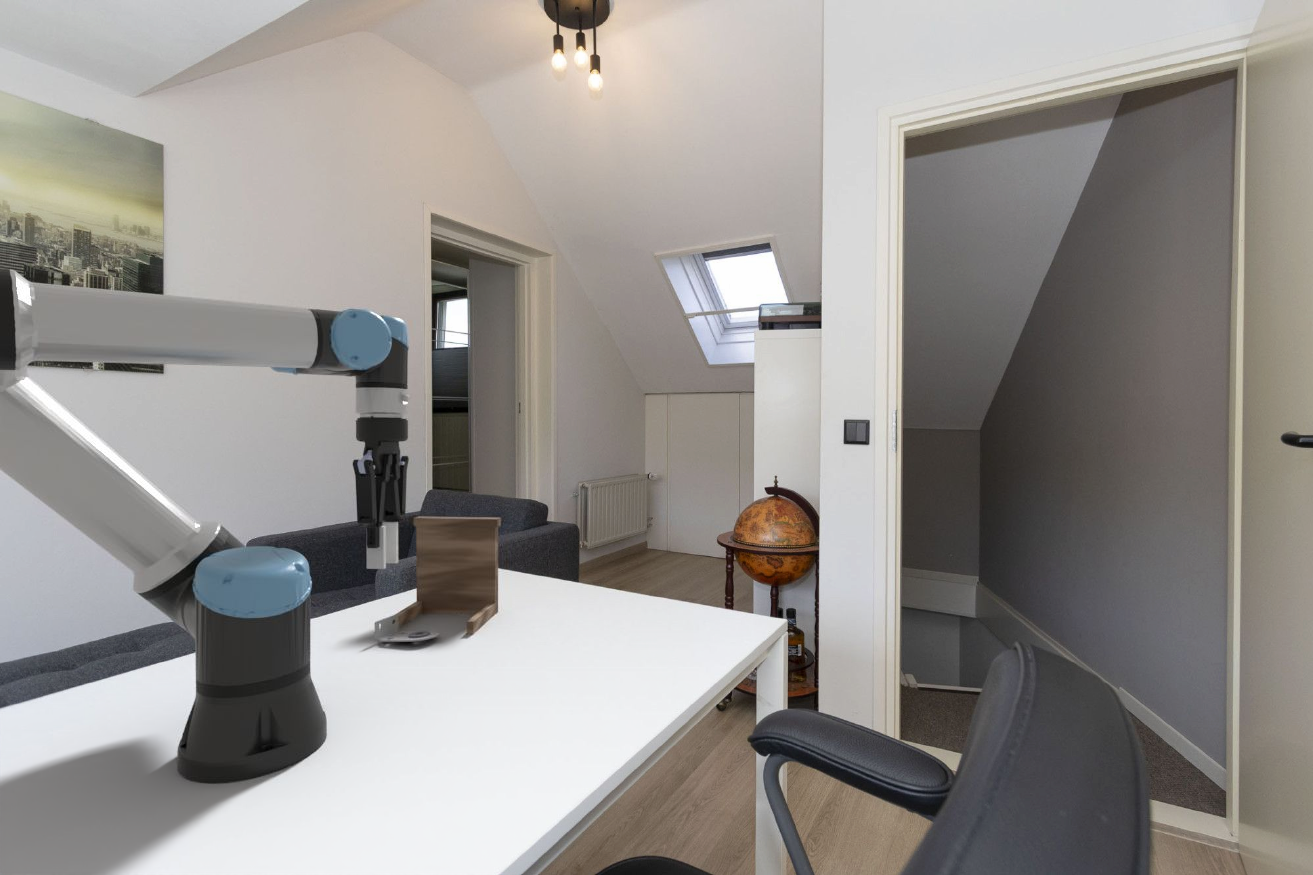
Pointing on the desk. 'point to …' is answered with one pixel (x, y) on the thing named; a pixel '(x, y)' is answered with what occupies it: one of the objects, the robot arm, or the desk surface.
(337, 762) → the desk surface
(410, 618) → the wooden l-shaped stand
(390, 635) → the bracket
